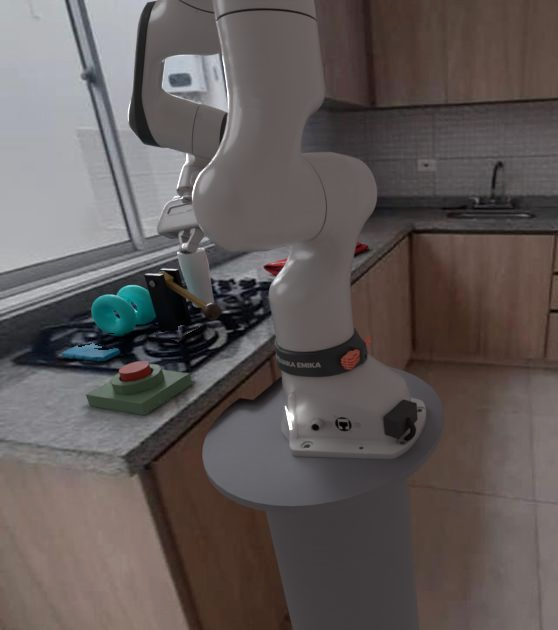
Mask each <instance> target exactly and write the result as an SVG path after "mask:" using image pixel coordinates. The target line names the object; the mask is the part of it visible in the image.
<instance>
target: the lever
mask: <svg viewBox="0 0 558 630" xmlns="http://www.w3.org/2000/svg"><path fill="white" fill-rule="evenodd" d="M155 274H164V277H165V281H166V285H167V288H168V287H169V288H171V289H172V290H174V291H175V292H177V293H178V294H180V295H182V296H183V297H185V298H186V300H187V301H189V302H191V303H194V304H195V305H197V306H199V307H200V308H199V309H202V313H203V316H204V318H206V319H208V320H213V321H214V320H217V319H219V318H220V317H221V315H222V308H221V306H220V305H219V304H218V303H215V302H214V303H209V304H206V303H205V302H203V301H202V300H200V299H199V298H197V297H196V296H194V295H193V294H191V293H189V291H188V290H187V289H185V288H184V287H183V288H182V287H180V286H179V285H177V284H175V283H174V282H173V278H174V277H172V276H171V275H169V274H168V273H166V272H165V271H162V272H160V271H159V272H156V273H155Z"/></svg>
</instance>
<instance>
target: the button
mask: <svg viewBox="0 0 558 630" xmlns="http://www.w3.org/2000/svg"><path fill="white" fill-rule="evenodd" d="M149 364H150V362H149V361H146V360H139V361H134V362H130V363H127V364H125V365H123V366H122V367H120V368H119V370H118V373H120V376H121V379H122V381H123V382H130V381H136V380H139V379H142V378H145V377H146V376H148V375H150V374H151V373H152V371H151V368H150V365H149Z"/></svg>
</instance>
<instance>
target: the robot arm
mask: <svg viewBox="0 0 558 630" xmlns="http://www.w3.org/2000/svg"><path fill="white" fill-rule="evenodd" d="M317 18H318V17H317V12H316V5H315V0H152V1H147V2H146V4H145V5H144V6H143V8H142V10H141V13H140V16H139V20H138V24H137V32H136V38H135V48H134V49H135V50H134V57H133V58H134V59H133V72H132V73H133V74H132V87H131V88H132V90H131V97H130V101H129V105H128V110H127V121H128V127H129V129H130V130H131V132H132V133H133V134H134V136H135V137H136V138H137V139H138V140H139V141H140V142H141V143H142V144H143V145H145V146H151V147H154V148H160V149H168V150H171V151H175V152H179V153H183V154H186V160H185V163H184V164H183V165H182V167H181V171H180V173H179V178H178V183H177V186H176V193H177V196H176V195H175V196H174V197H173V198H172V200H171V199H170V200H169V201H167V202H166V204H165V205H164V206H163V209H162V211H161V213H160V216H159V219H158V222H157V225H156V232H157V235H160V236H162V237H164V238H167V239H169V240H176V239H178V240H179V249H178V252H180V253H182V254H192V253H196V250H197V248H198V246H199V245H200V243H202V240H203V239H204V237H206V238H207V239H208V240H209V241H210V242H211V243H212V244H214V246H216V247H218V248H219V249H221V250H222V251H225V252H228V253H254V252H255V253H257V252H259V253H260V252H269V251H273V250H277V249H281V248H284V247H289V246H290V247H289V252H288V256H287V258H288V259H287V261H286V263H285V265H284V267H283V269H282V270H281V271H280V272H279V274H278V275H276V276H275V277H274V278H273V280H272V281H271V284H270V286H269V290H268V301H269V302H268V303H269V307H270V313H271V318H272V324H273V330H274V334H275V339H274V342H273V345H274V346H273V347H274V352H275V359H276V365H277V368H278V369H279V370H280V371H281V377H282V383H283V415H282V421H281V431H282V433H283V435H284V436H285V437H286V438H287V440H288V441H289V443H290V453H291V454H292V455H293V456H300V457H330V458H360V459H395V458H397V457H399V456H401V455H402V454H404V453H405V452H406V451H408V450H409V449H410V448H411V447H412V446H413V444H414V443H415V442H416V441H417V439H418V438H419V436H420V434H421V432H422V430H423V428H424V426H425V423H426V418H427V412H426V407H425V404H424V402H423V401H422V400H419V399H415V398H411V396H410V392H409V388H408V385H407V383H406V381H405V379H404V378H403V377H402V376H401V375H399V374H398V373H396V372H395V371H393V370H392V369H390V368H389V367H390V366H388V365H386V364H385V363H383V362H381V361H380V360H378V359H377V358H376V357H374V356H373V355H372V354H370V353H369V352H368V347H369V346H370V344H371V343H372V340H371V337H372V335H371V334H369V335H368V336H366V337H365V339H363V338H362V337H361V335H360V334H359V332H358V331H357V328H355V326H354V316H353V304H352V303H353V301H352V292H351V291H352V290H351V289H352V288H351V279H352V269H353V264H354V263H353V262H354V257H355V254H354V253H355V249H356V245H357V242H359V238H360V235H361V233H362V230H363V228H364V227H365V224H366V222H367V221H368V220H369V218H370V217H371V216H372V214H373V212H374V211H375V208H376V206H377V201H378V186H377V182H376V179H375V176H374V174H373V172H372V170H371V168H370V167H369V166H368V165H367V164H366V163H365V162H364V161H363V160H361V159H360V158H358V157H356V156H351V155H348V154H343V153H338V152H333V151H318V152H317V151H315V152H302V141H303V134H304V130H305V126H306V124H307V121H308V119H309V118H310V117H311V116H312V115H313V114H315V113H316V112H317V111H318V110H319V109H320V107H322V105H323V103H324V102H325V101H324V100H325V97H326V82H325V73H324V65H323V57H322V51H321V50H322V49H321V41H320V33H319V25H318V24H319V23H318V19H317ZM218 54H221V57H222V63H223V71H224V77H225V85H226V91H227V92H226V94H227V111H224V110H223V109H219V108H216V107H213V106H210V105H207V104H204V103H199V102H196V101H193V100H190V99H186V98H183V97H180V96H177V95H174V94H171V93H169V92H168V91H167V90H166V89H164V88H163V83H164V75H165V69H166V68H165V67H166V59H170V58H174V57H182V56H186V57H187V56H189V57H190V56H191V57H194V56H195V57H209V56H215V55H218ZM387 366H388V367H387Z"/></svg>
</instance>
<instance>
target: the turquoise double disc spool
mask: <svg viewBox="0 0 558 630" xmlns="http://www.w3.org/2000/svg"><path fill="white" fill-rule="evenodd" d="M132 303H133V304H134V305H135V306H136V309H135V308H134V307H133V305H132ZM90 311H91V317H92V320H93V322H94V323H95V325H96V326H97V327H98V328H99V329H100V330H101V331H102V332H104V333H105V332H108V333H114V334H108V335H109V336H112V337H125V336H127V335H129V334H131V333H132V332H133V331H134V330H135V328H136V325H137V326H138V325H139V326H140V325H141V326H143V325H148V324H150V323H152V322H153V321H154V320H155V319H156V315H155V311H154V308H153V304H152V301H151V297H150V294H149V290H148V289H146V288H144V287H143V286H141V285H137V284H128V285H125V286H123V287H121V288H120V289H119V290H118V291H117V293H116V294H103V295H101V296H99V297H97V298H96V299H94V301H93V303H92V305H91V309H90ZM115 312H116V313H117V314H118V316H119V317H118V316H117V315H116V314H115ZM130 331H132V332H130ZM126 332H130V333H127V334H126V335H125V334H121V333H126Z"/></svg>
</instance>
